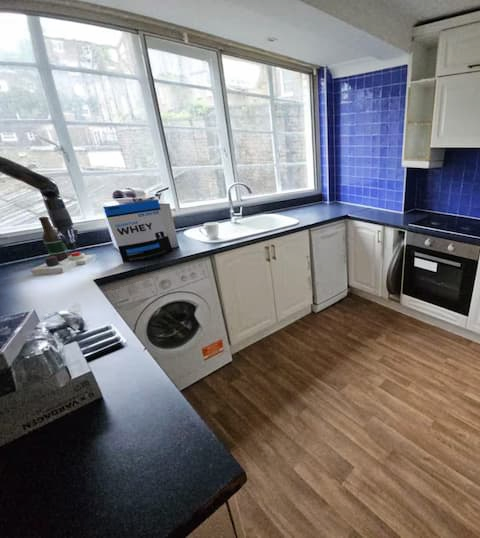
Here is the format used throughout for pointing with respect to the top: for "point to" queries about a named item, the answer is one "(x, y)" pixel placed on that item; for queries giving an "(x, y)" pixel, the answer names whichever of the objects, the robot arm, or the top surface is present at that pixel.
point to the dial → (51, 261)
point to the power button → (75, 254)
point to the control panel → (54, 268)
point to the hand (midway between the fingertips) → (73, 249)
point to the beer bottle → (53, 241)
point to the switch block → (81, 258)
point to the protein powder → (139, 230)
